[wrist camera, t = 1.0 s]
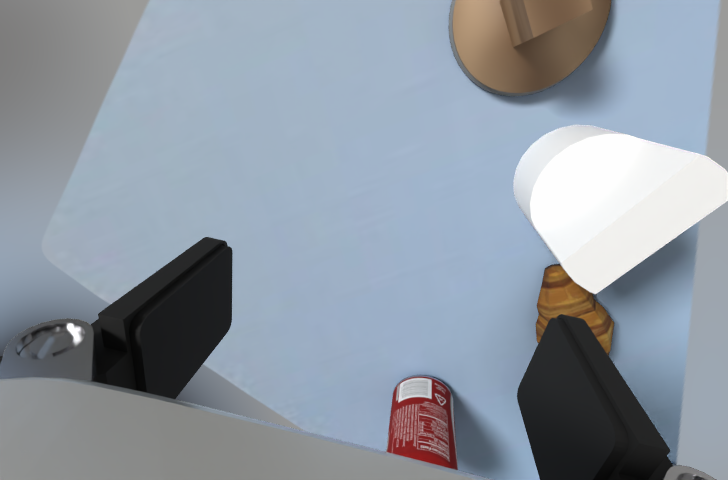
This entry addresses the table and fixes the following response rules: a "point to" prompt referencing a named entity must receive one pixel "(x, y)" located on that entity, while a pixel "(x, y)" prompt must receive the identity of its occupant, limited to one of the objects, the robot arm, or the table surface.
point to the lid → (526, 39)
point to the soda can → (423, 422)
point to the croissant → (571, 305)
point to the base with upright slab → (612, 198)
